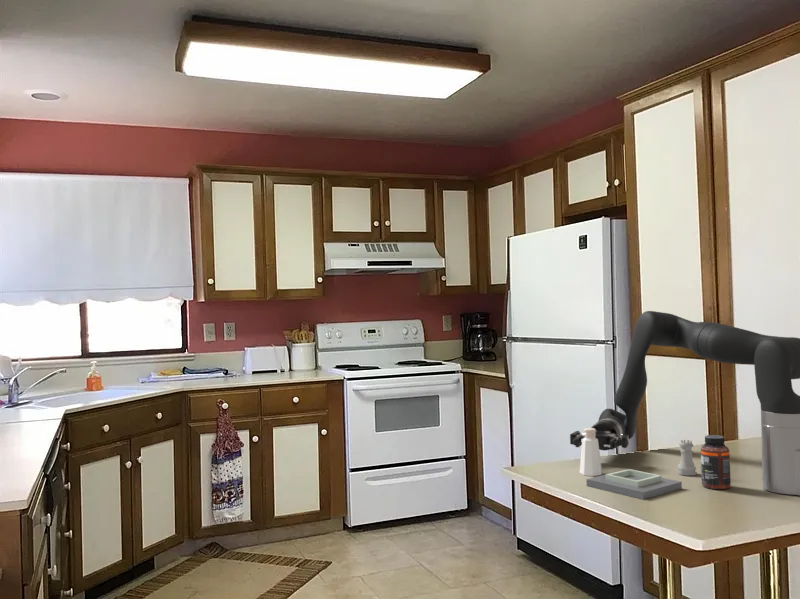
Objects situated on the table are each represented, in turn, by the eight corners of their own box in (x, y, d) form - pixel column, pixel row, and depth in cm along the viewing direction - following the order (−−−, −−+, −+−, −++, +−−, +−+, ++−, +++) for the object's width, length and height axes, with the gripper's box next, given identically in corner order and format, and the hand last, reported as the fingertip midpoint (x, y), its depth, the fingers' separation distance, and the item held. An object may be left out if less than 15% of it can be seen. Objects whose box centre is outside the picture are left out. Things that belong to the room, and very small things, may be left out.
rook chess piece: (698, 476, 169) (697, 442, 169) (678, 476, 170) (678, 442, 170) (694, 472, 173) (694, 439, 173) (675, 471, 174) (674, 439, 174)
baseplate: (681, 488, 158) (681, 476, 158) (643, 499, 150) (642, 486, 150) (625, 476, 170) (624, 465, 170) (586, 485, 162) (586, 473, 162)
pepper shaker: (593, 477, 170) (592, 431, 170) (574, 473, 174) (573, 428, 174) (606, 473, 173) (605, 428, 173) (588, 470, 177) (587, 425, 178)
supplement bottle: (732, 485, 160) (730, 435, 160) (729, 491, 155) (728, 439, 155) (703, 482, 163) (702, 433, 163) (699, 488, 158) (698, 437, 158)
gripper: (579, 418, 195) (565, 427, 180) (633, 421, 189) (623, 430, 174) (579, 445, 195) (565, 457, 180) (634, 449, 188) (623, 461, 174)
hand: (593, 444), depth 177 cm, fingers open, 8 cm apart
